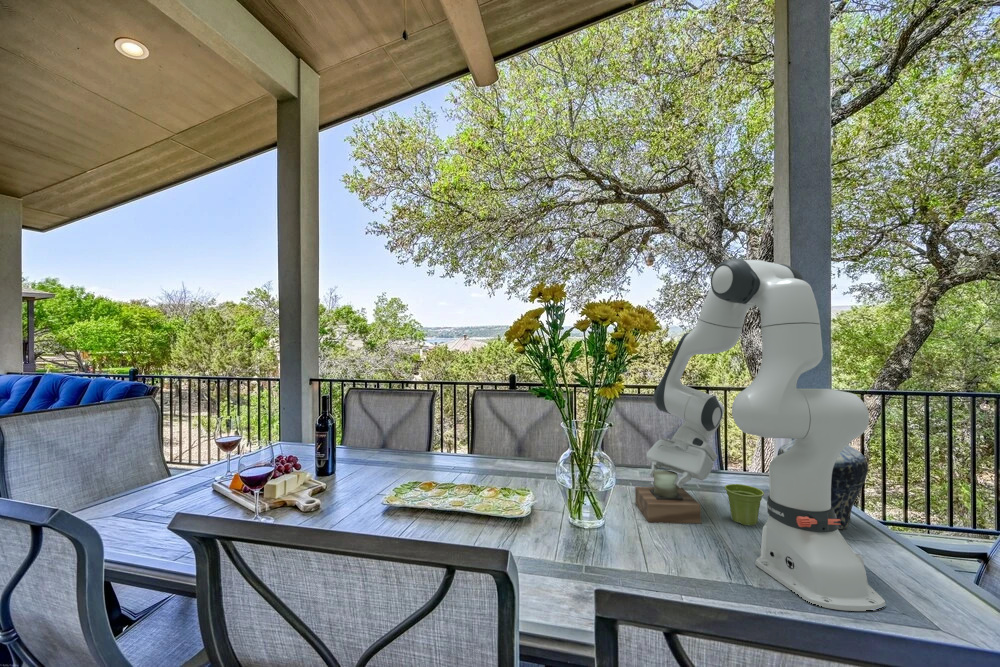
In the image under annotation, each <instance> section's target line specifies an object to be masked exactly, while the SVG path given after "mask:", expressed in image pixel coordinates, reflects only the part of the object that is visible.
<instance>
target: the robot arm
mask: <svg viewBox="0 0 1000 667" xmlns="http://www.w3.org/2000/svg"><path fill="white" fill-rule="evenodd" d="M811 286H812V285H811V284H809V282H807V281H805V280H804V278H803V275H802V274H801V272H800V271H799V270H798V269H796V268H794V267H792V266H790V265H787V264H784V263H776V262H770V261H766V260H761V259H742V258H732V259H727V260H726V259H725V260H724V261H722V262H720V263H719V264H717V265H716V267H715V268H714V270H713V272H712V273H711V277H710V288H709V290H708V291H707V292H708V293H707V295H706V297H705V299H704V302H703V304H702V306H701V310H700V312H699V318H698V320H697V323H696V325H695V327H693V329H692V330H691V331H690V332H689V331H688V332H686V333H684V334H683V335H682V336H681V338H680V340H679V341H678V343H677V345H676V347H675V349H674V351H673V354H672V356H671V358H670V359H669V362H668V365H667V367H666V369H665V371H664V374H663V376H662V378H661V380H660V381H659V383H658V385H657V386H656V389H655V391H654V393H653V397H652V398H653V401H654V404H655V406H656V408H657V409H658V411H659V412H660V411H661V412H663V413H666V414H669V415H673V416H675V417H677V418H679V419H682V420H684V422H683V423H682V424H681V425H680V426H679V427H678V429H677V430H676V432H675V433H674V434H673V436H672V438H668V437H664V438H660V439H659V440H657V441H655V443H654V444H653V445H652V446H651V447H650V448H649V450H648V451H647V452H646V459H647V461H649V462H650V463H651V470H650V471H649V474H648V475H649V477H651V478H653V479H654V471H656V470H660V468H664V469H666V470H669V471H673V472H676V473H677V474H678V473H679V474H681V475H682V476H680V478H678V479H677V478H676V480H675V482H674V485H675V486H676V487H679V488H683V486H684V485H685V484H687V483H688V482H689V481H691V480H692V479H695V480H699V481H704V480H706V479H707V477H708V476H709V475H710V473H711V472H712V469H713V467H714V466H715V465H714V464H715V463H714V462H715V461H716V460H717V459H718V458H719V457H718V454H717V453H716V452H715V450H714V449H713V448H712V447H711V446H710V444H709V440H710V438H711V437H712V436H713V435H714V434H715V433H716V431H717V429H718V428H719V425H720V424H721V421H722V419H723V417H724V413H725V407H724V405H723V403H722V402H721V401H720V400H719V399H717V397H715V396H714V395H711V394H709V393H706V392H704V391H701V390H700V389H699V390H698V389H695V388H692V387H691V386H687V385H684V384H683V383H682V382H681V378H682V376H683V374H684V372H685V370H686V368H687V365H688V363H689V361H690V359H691V358H693V357H694V356H696V355H712V354H720V353H724V352H727V351H729V350H731V349H732V348H733V347H735V346H736V345H737V344H738V341H739V340H740V337H741V334H742V331H743V327H744V324H745V318H746V315H747V313H748V311H749V310H750V309H751V308H752V307H755V306H756V307H757V308H758V309H759V313H760V327H761V342H762V343H761V345H762V346H761V347H762V348H761V349H762V352H761V353H762V354H761V355H762V356H761V362H760V367H759V370H758V372H757V374H756V376H755V378H754V379H753V381H752V382H750V384H749V385H748V386H747V387H746V388H744V389H743V390H741V391H740V392H739V393H738V394H737V395H736V396H735V398H734V400H733V402H732V405H731V416H732V419H733V421H734V423H735V424H736V426H737V427H738V429H739V430H740V431H741V432H743V433H744V434H748V435H752V436H757V437H761V438H766V439H792V440H794V439H795V442H794V444H793V446H792V447H791V448H790V449H789V450H788V451H787V452H785V453H783V454H780V455H778V456H775V457H773V459H772V460H771V461H770V464H769V466H768V485H769V495H768V496H767V500H766V507H767V509H766V510H767V514H768V518H767V520H766V522H765V523H764V525H763V527H762V532H761V534H762V535H761V545H760V546H761V548H760V556H758V557H757V558H755V566H757V567H758V568H759V569H761V570H762V571H763V572H765V573H766V574H767V575H769V576H770V577H772V578H773V579H774V580H776V581H777V582H779V583H780V584H782V585H783V586H785V587H786V588H787V589H789V590H790V591H791V590H792V592H793V593H794V592H795V593H794V594H795V595H797V594H798V595H799V597H800V598H801V597H802V598H801V599H803V600H804V601H805V600H806V602H807V601H808V602H807V603H809V602H810V603H809V604H811V603H812V604H811V605H813V604H816V605H815V606H817V605H819V606H818V607H821V606H822V608H826V609H831V610H839V611H845V612H849V611H850V612H851V611H852V612H853V611H854V612H867V611H866V610H871V609H876V608H879V607H882V606H884V605H886V600H885V599H884V598H883V597H882V596H881V595H879V593H878V592H877V591H875V589H874V588H872V587H871V586H870V585H869V583H868V577H867V571H866V568H865V561H864V558H863V556H862V555H861V554H858V553H855V552H854V550H853V548H852V547H851V546H850V545H849V543H848V542H847V540H846V538H844V536H843V535H842V534H841V532H840V530H839V529H838V528H839V526H838V525H841V524H840V523H837V521H841V520H840V519H836V518H837V517H836V514H835V512H834V509H833V507H832V506H831V479H832V471H833V467H834V464H835V462H836V460H837V458H838V456H839V454H840V453H841V451H842V450H843V449H844V448H845V447H846V446H847V445H849V444H850V443H851V442H852V441H854V440H855V439H857V438H858V437H860V436H862V435H863V434H864V432H866V430H867V429H868V426H869V422H870V414H869V410H868V407H867V405H866V404H865V403H864V401H863V400H862V399H861V397H859V396H858V395H856V394H855V393H852V392H847V391H843V390H838V389H831V388H798V387H797V386H798V385H797V383H798V380H799V377H800V376H801V375H802V374H804V373H806V372H809V371H810V370H812V369H814V368H816V367H817V366H818V365H819V364H820V362H821V361H822V360H823V356H824V352H823V341H822V328H821V320H820V312H819V308H818V304H817V300H816V298H815V294H814V292H813V288H812V287H811ZM798 595H797V596H798Z"/></svg>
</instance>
